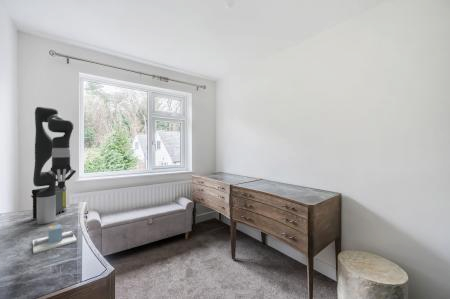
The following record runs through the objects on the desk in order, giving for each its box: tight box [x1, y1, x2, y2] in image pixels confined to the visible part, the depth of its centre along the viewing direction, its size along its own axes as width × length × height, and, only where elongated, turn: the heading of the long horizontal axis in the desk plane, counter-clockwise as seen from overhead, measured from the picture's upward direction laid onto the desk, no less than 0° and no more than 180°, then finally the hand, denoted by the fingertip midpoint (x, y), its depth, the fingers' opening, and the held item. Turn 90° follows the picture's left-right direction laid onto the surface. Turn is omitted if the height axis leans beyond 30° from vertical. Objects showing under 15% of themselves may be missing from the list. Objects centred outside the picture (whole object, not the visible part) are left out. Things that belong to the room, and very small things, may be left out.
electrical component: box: [30, 184, 67, 219], centre depth 141 cm, size 18×10×20 cm, turn 168°
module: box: [47, 224, 63, 244], centre depth 100 cm, size 7×5×7 cm
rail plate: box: [32, 230, 78, 254], centre depth 100 cm, size 16×16×2 cm
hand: (61, 188), depth 104 cm, fingers closed
